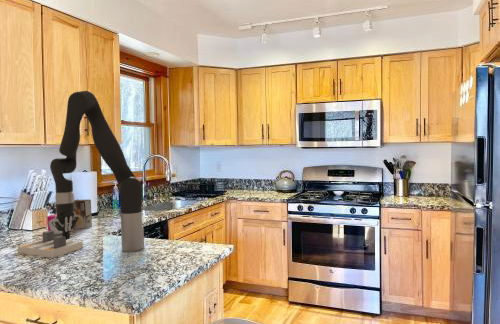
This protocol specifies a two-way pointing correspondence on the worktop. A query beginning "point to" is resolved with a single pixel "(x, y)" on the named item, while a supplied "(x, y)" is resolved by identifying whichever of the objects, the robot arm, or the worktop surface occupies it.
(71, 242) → the switch panel
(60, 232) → the tab
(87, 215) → the coffee box
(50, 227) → the supplement box
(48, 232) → the tab
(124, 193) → the robot arm
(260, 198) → the worktop surface
